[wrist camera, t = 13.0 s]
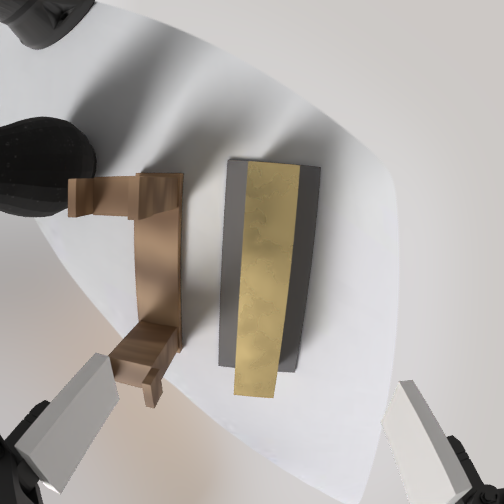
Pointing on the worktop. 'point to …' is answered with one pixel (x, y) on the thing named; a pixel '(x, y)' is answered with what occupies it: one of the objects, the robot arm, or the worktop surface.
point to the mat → (299, 263)
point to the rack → (144, 268)
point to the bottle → (41, 165)
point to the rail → (264, 274)
